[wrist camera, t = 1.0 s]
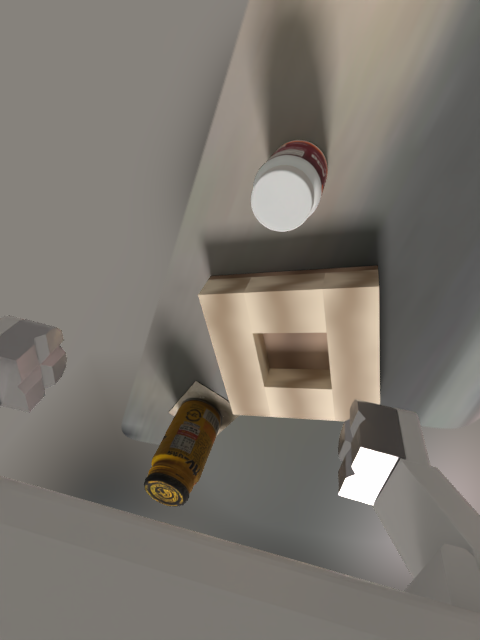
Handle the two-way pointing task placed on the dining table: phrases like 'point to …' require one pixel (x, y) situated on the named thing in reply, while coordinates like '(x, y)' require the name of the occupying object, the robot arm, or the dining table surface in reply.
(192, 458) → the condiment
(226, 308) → the well block
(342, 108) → the dining table surface
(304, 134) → the dining table surface
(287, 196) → the pill bottle
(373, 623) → the robot arm
